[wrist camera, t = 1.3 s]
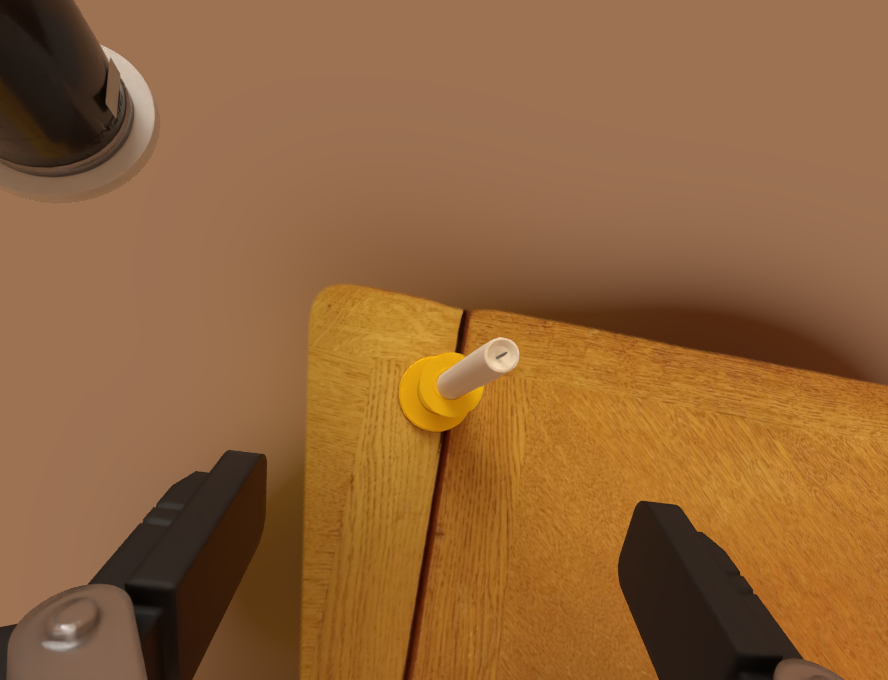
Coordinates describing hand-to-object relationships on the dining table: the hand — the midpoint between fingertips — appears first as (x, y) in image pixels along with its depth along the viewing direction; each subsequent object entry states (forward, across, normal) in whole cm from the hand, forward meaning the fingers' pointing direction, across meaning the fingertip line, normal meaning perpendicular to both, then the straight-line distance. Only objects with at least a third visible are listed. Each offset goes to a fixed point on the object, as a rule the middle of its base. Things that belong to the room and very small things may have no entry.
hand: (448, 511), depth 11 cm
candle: (+23, 0, +8) cm, 24 cm away
